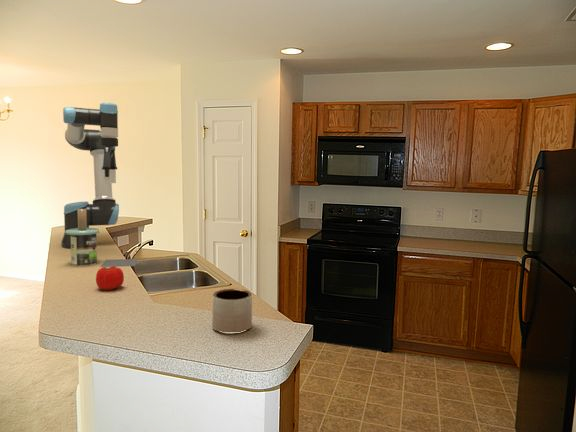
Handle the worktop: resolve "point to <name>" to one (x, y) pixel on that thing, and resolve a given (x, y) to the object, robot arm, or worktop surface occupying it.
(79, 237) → the coffee can
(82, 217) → the cover
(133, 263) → the mat
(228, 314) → the planter
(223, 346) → the worktop surface
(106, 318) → the worktop surface
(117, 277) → the tomato
